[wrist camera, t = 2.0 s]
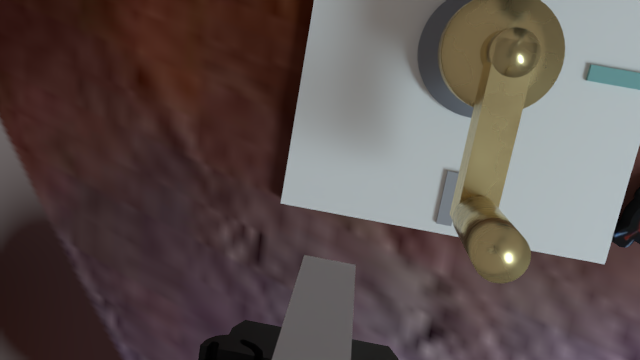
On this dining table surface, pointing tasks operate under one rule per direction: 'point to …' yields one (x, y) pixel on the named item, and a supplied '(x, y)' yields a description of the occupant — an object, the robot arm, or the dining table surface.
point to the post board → (464, 124)
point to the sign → (629, 224)
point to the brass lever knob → (496, 116)
